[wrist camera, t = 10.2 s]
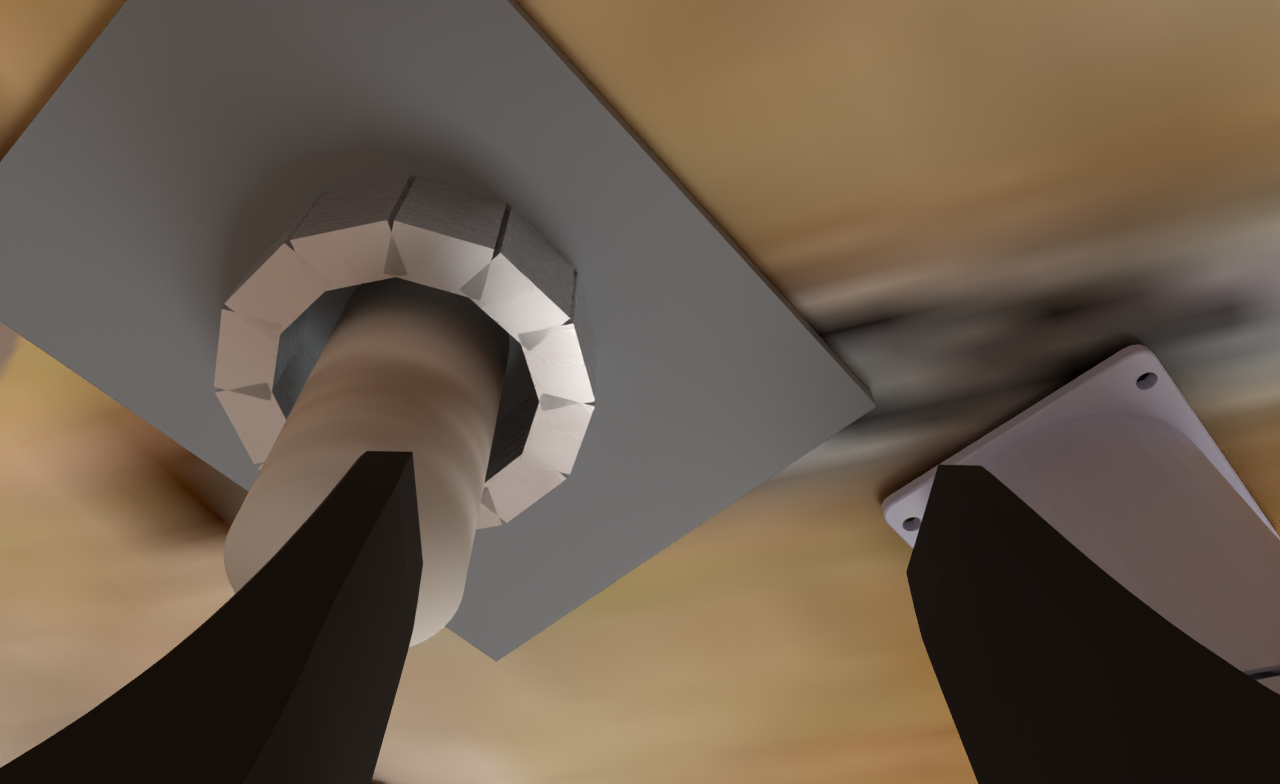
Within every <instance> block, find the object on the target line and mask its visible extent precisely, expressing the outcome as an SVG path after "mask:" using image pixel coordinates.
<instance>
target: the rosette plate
mask: <svg viewBox="0 0 1280 784" xmlns="http://www.w3.org/2000/svg"><path fill="white" fill-rule="evenodd" d="M409 175H411V178H412V181H413V182H414V180H415V178H416V176H420V177H423V178H427V179H430V180H433V181H437V182H440V183H444V184H447V185H450V186H454V187H457V188H460V189H464V190H467V191H470V192H474V193H477V194H480V195H484V196H487V197H490V198H494V199H497V200H500V201H504V202H507V203H506V207H505V211H504V213H505V212H506V211H507V210H508V209H509V208H510V207H511V206H513V207H514V208H515V209H516V210H517V211H518V212H519V213H520V214H521V215H522V216H523V217H524V218H525V219H526V220H527V221H529V222H530V223H531V224H532V225H533V226H534V227H535V228H536V229H537V230H538V231H539V232H540V233H541V234H542V235H543V236H544V237H545V238H546V239H547V240H548V241H549V242H550V243H551V244H552V245H553V246H554V247H555V248H556V249H557V250H558V251H559V252H560V253H561V254H562V255H563V256H564V257H565V258H566V259H568V260H569V261H570V262H571V263H572V264H573V265H574V266H575V268H574V272H577V271H578V275H579V279H580V282H581V286H582V290H583V294H584V297H585V301H586V305H587V309H588V312H589V316H590V320H591V324H592V327H593V331H594V335H595V339H596V342H597V360H596V389H595V407H594V410H593V413H592V416H591V418H590V421H589V424H588V427H587V429H586V432H585V435H584V437H583V440H582V443H581V446H580V448H579V451H578V454H577V457H576V459H575V462H574V465H573V467H572V470H571V473H570V475H569V474H567V479H566V480H564V481H563V482H562V483H560V484H559V485H558V486H556V487H555V488H553V489H552V490H551V491H549V492H548V493H547V494H545V495H544V496H543V497H541V498H540V499H539V500H537V501H536V502H535V503H533V504H532V505H531V506H529V507H528V508H526V509H525V510H524V511H522V512H521V513H520V514H518V515H517V516H516V517H514V518H513V519H512V520H510V521H509V522H508V523H506V522H505V521H504V520H503V521H502V525H499V526H494V527H488V528H482V529H476V530H475V535H474V540H473V546H472V551H471V556H470V561H469V567H468V572H467V577H466V582H465V588H464V592H463V597H462V600H461V603H460V605H459V607H458V610H457V611H456V613H455V614H454V616H453V617H452V619H451V620H450V621H449V622H448V623H447V624H446V625H445V627H447V628H448V629H450V630H451V631H453V632H454V633H456V634H457V635H458V636H460V637H461V638H463V639H464V640H466V641H467V642H469V643H470V644H472V645H473V646H474V647H476V648H477V649H479V650H480V651H482V652H483V653H485V654H486V655H488V656H489V657H491V658H492V659H493V660H495V661H498V660H499V659H501V658H502V657H504V656H505V655H507V654H508V653H510V652H511V651H513V650H514V649H516V648H517V647H519V646H520V645H522V644H523V643H525V642H526V641H528V640H529V639H531V638H532V637H534V636H535V635H537V634H538V633H540V632H541V631H543V630H544V629H546V628H547V627H549V626H550V625H552V624H553V623H554V622H556V621H557V620H559V619H560V618H562V617H563V616H565V615H566V614H568V613H569V612H571V611H572V610H574V609H575V608H577V607H578V606H580V605H581V604H583V603H584V602H586V601H587V600H589V599H590V598H592V597H593V596H595V595H596V594H598V593H599V592H601V591H602V590H604V589H605V588H607V587H608V586H610V585H611V584H613V583H614V582H616V581H617V580H619V579H620V578H622V577H623V576H624V575H626V574H627V573H629V572H630V571H632V570H633V569H635V568H636V567H638V566H639V565H641V564H642V563H644V562H645V561H647V560H648V559H650V558H651V557H653V556H654V555H656V554H657V553H659V552H660V551H662V550H663V549H665V548H666V547H668V546H669V545H671V544H672V543H674V542H675V541H677V540H678V539H680V538H681V537H683V536H684V535H686V534H687V533H689V532H690V531H692V530H693V529H694V528H696V527H697V526H699V525H700V524H702V523H703V522H705V521H706V520H708V519H709V518H711V517H712V516H714V515H715V514H717V513H718V512H720V511H721V510H723V509H724V508H726V507H727V506H729V505H730V504H732V503H733V502H735V501H736V500H738V499H739V498H741V497H742V496H744V495H745V494H747V493H748V492H750V491H751V490H753V489H754V488H756V487H757V486H759V485H760V484H762V483H763V482H765V481H766V480H767V479H769V478H770V477H772V476H773V475H775V474H776V473H778V472H779V471H781V470H782V469H784V468H785V467H787V466H788V465H790V464H791V463H793V462H794V461H796V460H797V459H799V458H800V457H802V456H803V455H805V454H806V453H808V452H809V451H811V450H812V449H814V448H815V447H817V446H818V445H820V444H821V443H823V442H824V441H826V440H827V439H829V438H830V437H832V436H833V435H835V434H836V433H837V432H839V431H840V430H842V429H843V428H845V427H846V426H848V425H849V424H851V423H852V422H854V421H855V420H857V419H858V418H860V417H861V416H863V415H864V414H866V413H867V412H869V411H870V410H872V409H873V408H875V407H876V406H877V405H876V403H875V401H874V398H873V396H872V394H871V392H870V391H869V390H868V389H867V388H866V387H865V386H864V385H863V383H862V382H861V381H860V380H859V379H858V378H857V377H856V376H855V375H854V374H853V372H852V371H851V370H850V369H849V368H848V367H847V366H846V365H845V364H844V363H843V361H842V360H841V359H840V358H839V357H838V356H837V355H836V354H835V353H834V351H833V350H832V349H831V348H830V347H829V346H828V345H827V344H826V343H825V342H824V340H823V339H822V338H821V337H820V336H819V335H818V334H817V333H816V332H815V331H814V329H813V328H812V327H811V326H810V325H809V324H808V323H807V322H806V321H805V319H804V318H803V317H802V316H801V315H800V314H799V313H798V312H797V311H796V310H795V308H794V307H793V306H792V305H791V304H790V303H789V302H788V301H787V300H786V299H785V297H784V296H783V295H782V294H781V293H780V292H779V291H778V290H777V289H776V287H775V286H774V285H773V284H772V283H771V282H770V281H769V280H768V279H767V278H766V276H765V275H764V274H763V273H762V272H761V271H760V270H759V269H758V268H757V267H756V265H755V264H754V263H753V262H752V261H751V260H750V259H749V258H748V257H747V255H746V254H745V253H744V252H743V251H742V250H741V249H740V248H739V247H738V246H737V244H736V243H735V242H734V241H733V240H732V239H731V238H730V237H729V236H728V235H727V233H726V232H725V231H724V230H723V229H722V228H721V227H720V226H719V225H718V223H717V222H716V221H715V220H714V219H713V218H712V217H711V216H710V215H709V214H708V212H707V211H706V210H705V209H704V208H703V207H702V206H701V205H700V204H699V203H698V201H697V200H696V199H695V198H694V197H693V196H692V195H691V194H690V193H689V192H688V190H687V189H686V188H685V187H684V186H683V185H682V184H681V183H680V182H679V180H678V179H677V178H676V177H675V176H674V175H673V174H672V173H671V172H670V171H669V169H668V168H667V167H666V166H665V165H664V164H663V163H662V162H661V161H660V160H659V158H658V157H657V156H656V155H655V154H654V153H653V152H652V151H651V150H650V148H649V147H648V146H647V145H646V144H645V143H644V142H643V141H642V140H641V139H640V137H639V136H638V135H637V134H636V133H635V132H634V131H633V130H632V129H631V128H630V126H629V125H628V124H627V123H626V122H625V121H624V120H623V119H622V118H621V116H620V115H619V114H618V113H617V112H616V111H615V110H614V109H613V108H612V107H611V105H610V104H609V103H608V102H607V101H606V100H605V99H604V98H603V97H602V96H601V94H600V93H599V92H598V91H597V90H596V89H595V88H594V87H593V86H592V84H591V83H590V82H589V81H588V80H587V79H586V78H585V77H584V76H583V75H582V73H581V72H580V71H579V70H578V69H577V68H576V67H575V66H574V65H573V64H572V62H571V61H570V60H569V59H568V58H567V57H566V56H565V55H564V54H563V52H562V51H561V50H560V49H559V48H558V47H557V46H556V45H555V44H554V43H553V41H552V40H551V39H550V38H549V37H548V36H547V35H546V34H545V33H544V32H543V30H542V29H541V28H540V27H539V26H538V25H537V24H536V23H535V22H534V20H533V19H532V18H531V17H530V16H529V15H528V14H527V13H526V12H525V11H524V9H523V8H522V7H521V6H520V5H519V4H518V3H517V2H516V1H515V0H127V1H126V2H125V3H124V5H123V6H122V7H121V8H120V10H119V11H118V12H117V14H116V15H115V16H114V17H113V19H112V20H111V21H110V22H109V24H108V25H107V26H106V28H105V29H104V30H103V31H102V33H101V34H100V35H99V37H98V38H97V39H96V40H95V42H94V43H93V44H92V45H91V47H90V48H89V49H88V51H87V52H86V53H85V54H84V56H83V57H82V58H81V60H80V61H79V62H78V63H77V65H76V66H75V67H74V68H73V70H72V71H71V72H70V74H69V75H68V76H67V77H66V79H65V80H64V81H63V83H62V84H61V85H60V86H59V88H58V89H57V90H56V91H55V93H54V94H53V95H52V97H51V98H50V99H49V100H48V102H47V103H46V104H45V106H44V107H43V108H42V109H41V111H40V112H39V113H38V114H37V116H36V117H35V118H34V120H33V121H32V122H31V123H30V125H29V126H28V127H27V129H26V130H25V131H24V132H23V134H22V135H21V136H20V137H19V139H18V140H17V141H16V143H15V144H14V145H13V146H12V148H11V149H10V150H9V152H8V153H7V154H6V155H5V157H4V158H3V159H2V160H1V162H0V321H1V322H2V323H3V324H5V325H7V326H8V327H9V328H11V329H12V330H14V331H15V332H17V333H18V334H20V335H21V336H22V337H24V338H25V339H27V340H28V341H30V342H31V343H33V344H34V345H36V346H37V347H38V348H40V349H41V350H43V351H44V352H46V353H47V354H49V355H50V356H52V357H53V358H55V359H56V360H57V361H59V362H60V363H62V364H63V365H65V366H66V367H68V368H69V369H71V370H72V371H73V372H75V373H76V374H78V375H79V376H81V377H82V378H84V379H85V380H87V381H88V382H90V383H91V384H92V385H94V386H95V387H97V388H98V389H100V390H101V391H103V392H104V393H106V394H107V395H108V396H110V397H111V398H113V399H114V400H116V401H117V402H119V403H120V404H122V405H123V406H125V407H126V408H127V409H129V410H130V411H132V412H133V413H135V414H136V415H138V416H139V417H141V418H142V419H143V420H145V421H146V422H148V423H149V424H151V425H152V426H154V427H155V428H157V429H158V430H160V431H161V432H162V433H164V434H165V435H167V436H168V437H170V438H171V439H173V440H174V441H176V442H177V443H178V444H180V445H181V446H183V447H184V448H186V449H187V450H189V451H190V452H192V453H193V454H195V455H196V456H197V457H199V458H200V459H202V460H203V461H205V462H206V463H208V464H209V465H211V466H212V467H213V468H215V469H216V470H218V471H219V472H221V473H222V474H224V475H225V476H227V477H228V478H229V479H231V480H232V481H234V482H235V483H237V484H238V485H240V486H241V487H243V488H244V489H246V490H247V491H248V492H249V491H250V489H251V487H252V485H253V483H254V481H255V480H256V478H257V476H258V474H259V472H260V470H259V469H258V467H259V465H260V463H257V464H254V463H253V461H252V460H251V458H250V456H249V454H248V452H247V450H246V449H245V447H244V445H243V443H242V441H241V439H240V438H239V436H238V434H237V432H236V430H235V428H234V426H233V425H232V423H231V421H230V419H229V417H228V415H227V414H226V412H225V410H224V408H223V406H222V404H221V403H220V401H219V399H218V397H217V395H216V393H215V392H216V390H217V388H216V387H214V380H215V370H216V361H217V351H218V341H219V332H220V322H221V312H222V308H223V307H224V305H225V304H224V303H225V302H226V301H227V299H228V298H229V297H230V295H231V294H232V293H233V291H234V290H235V289H236V287H237V286H238V285H239V284H240V282H241V281H242V280H243V278H244V277H245V276H246V274H247V273H248V272H249V270H250V269H251V268H252V266H253V265H254V264H255V262H256V261H257V260H258V258H259V257H260V256H261V254H262V253H263V252H264V251H265V250H266V249H267V248H268V247H269V246H270V245H271V244H272V243H273V242H274V241H275V240H276V239H277V238H278V237H279V236H280V235H281V234H282V233H283V232H284V231H285V230H286V229H287V228H288V226H289V225H290V224H291V223H292V222H293V221H294V220H295V219H296V218H297V217H298V216H299V215H300V214H301V213H302V212H303V211H304V210H305V209H306V208H307V207H308V206H309V205H310V204H311V203H312V202H313V201H314V200H315V199H316V198H317V197H319V198H321V196H322V195H323V194H324V193H329V192H333V191H338V190H343V189H348V188H352V187H357V186H362V185H367V184H371V183H376V182H381V181H386V180H390V179H395V178H400V177H405V176H409ZM360 285H361V284H358V285H353V286H348V287H343V288H338V289H333V290H328V291H325V292H324V293H323V294H322V295H321V296H320V297H319V298H318V299H316V300H315V301H314V302H313V303H312V304H311V305H310V306H309V307H308V313H307V319H306V326H305V332H304V336H305V338H306V341H307V343H308V345H309V347H310V349H311V351H312V354H313V356H314V358H315V360H316V362H317V360H318V358H319V356H320V355H321V353H322V351H323V349H324V347H325V345H326V343H327V341H328V339H329V337H330V335H331V333H332V331H333V330H334V328H335V326H336V324H337V322H338V320H339V318H340V316H341V314H342V312H343V310H344V308H345V306H346V305H347V303H348V301H349V299H350V297H351V296H352V294H353V293H354V291H355V290H356V289H357V288H358V287H359V286H360ZM509 338H510V350H509V357H508V362H507V367H506V372H505V378H504V383H503V388H502V393H501V399H500V404H499V409H498V414H497V420H496V422H497V421H498V420H499V419H500V418H502V417H503V416H504V415H505V414H507V413H508V412H509V411H510V410H512V409H513V408H514V407H515V406H517V405H518V404H519V403H520V402H522V401H523V400H524V399H525V398H527V397H528V396H529V395H530V394H531V392H532V389H533V386H534V383H533V380H532V377H531V374H530V371H529V367H528V364H527V361H526V358H525V355H524V352H523V349H522V346H521V344H520V343H519V342H518V341H517V340H516V339H515V338H514V337H513V336H511V335H510V334H509Z"/></svg>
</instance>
